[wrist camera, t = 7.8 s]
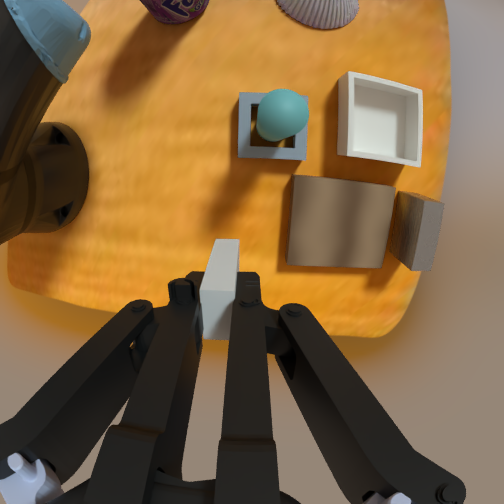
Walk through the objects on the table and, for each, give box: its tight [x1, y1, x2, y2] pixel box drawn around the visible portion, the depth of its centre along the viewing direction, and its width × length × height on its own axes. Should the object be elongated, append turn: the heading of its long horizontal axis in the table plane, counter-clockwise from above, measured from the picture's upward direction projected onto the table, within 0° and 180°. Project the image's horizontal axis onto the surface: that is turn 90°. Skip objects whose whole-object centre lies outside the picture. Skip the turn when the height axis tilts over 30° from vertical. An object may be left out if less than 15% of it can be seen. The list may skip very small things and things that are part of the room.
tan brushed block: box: [285, 174, 396, 268], centre depth 31 cm, size 12×10×2 cm
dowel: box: [256, 89, 309, 142], centre depth 22 cm, size 3×3×12 cm
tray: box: [337, 71, 423, 167], centre depth 25 cm, size 9×9×4 cm
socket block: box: [238, 92, 308, 160], centre depth 27 cm, size 7×7×2 cm
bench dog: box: [390, 191, 444, 271], centre depth 28 cm, size 3×8×6 cm, turn 179°
